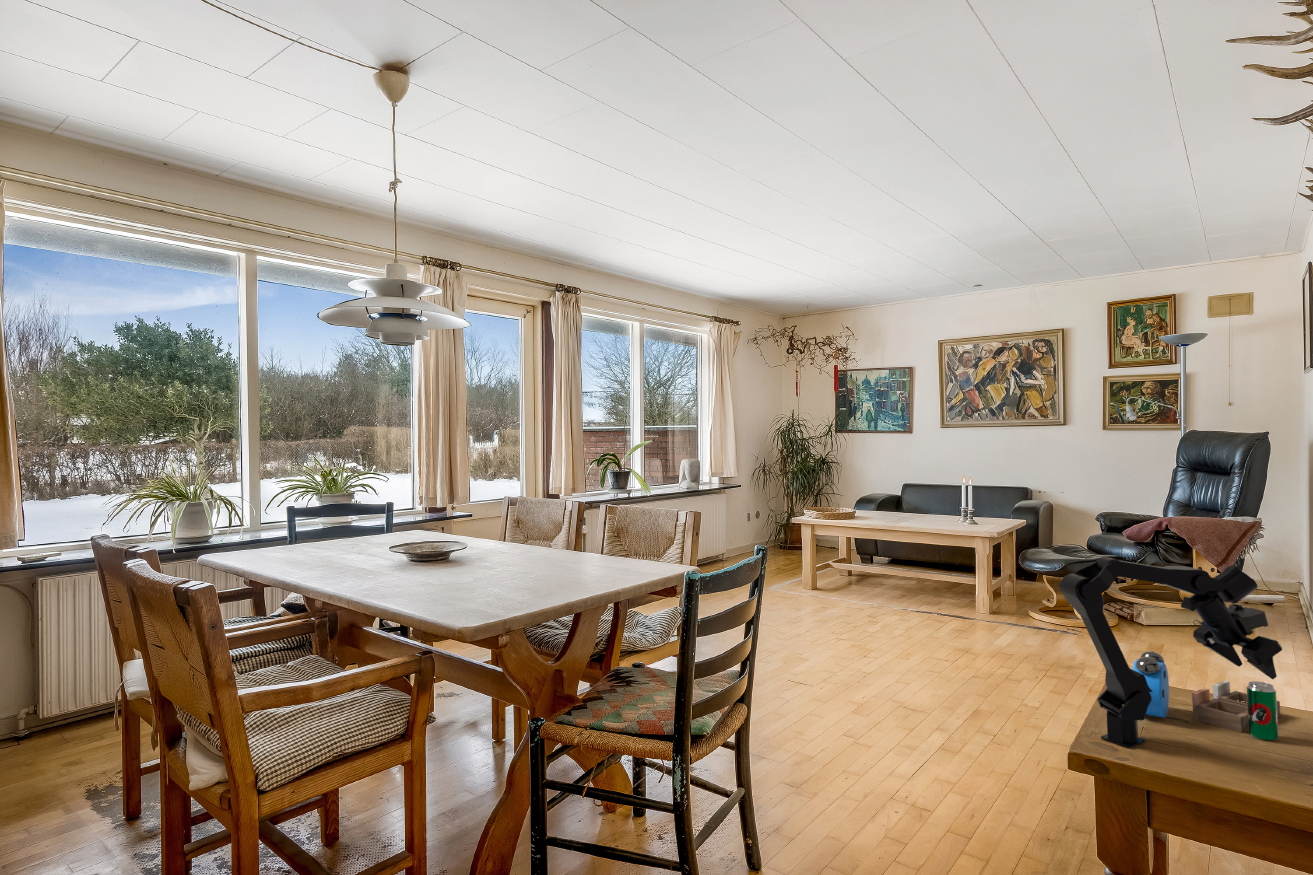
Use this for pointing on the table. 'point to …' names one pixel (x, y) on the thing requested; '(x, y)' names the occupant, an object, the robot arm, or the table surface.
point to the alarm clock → (1155, 682)
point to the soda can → (1262, 711)
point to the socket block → (1223, 707)
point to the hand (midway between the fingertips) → (1256, 671)
